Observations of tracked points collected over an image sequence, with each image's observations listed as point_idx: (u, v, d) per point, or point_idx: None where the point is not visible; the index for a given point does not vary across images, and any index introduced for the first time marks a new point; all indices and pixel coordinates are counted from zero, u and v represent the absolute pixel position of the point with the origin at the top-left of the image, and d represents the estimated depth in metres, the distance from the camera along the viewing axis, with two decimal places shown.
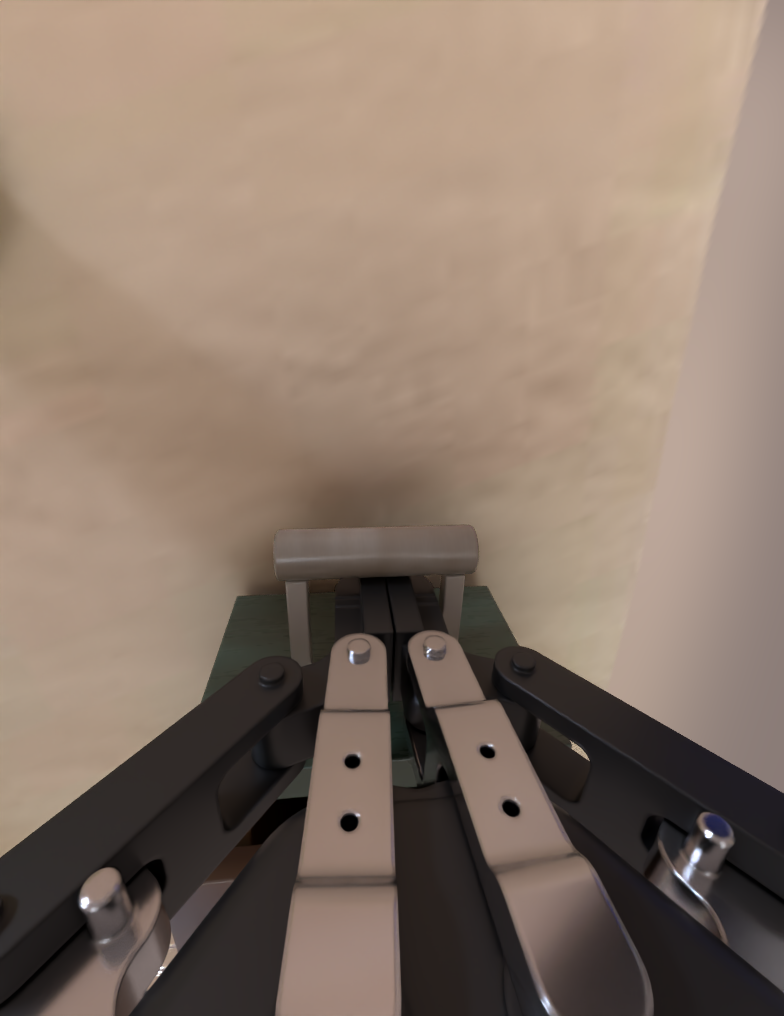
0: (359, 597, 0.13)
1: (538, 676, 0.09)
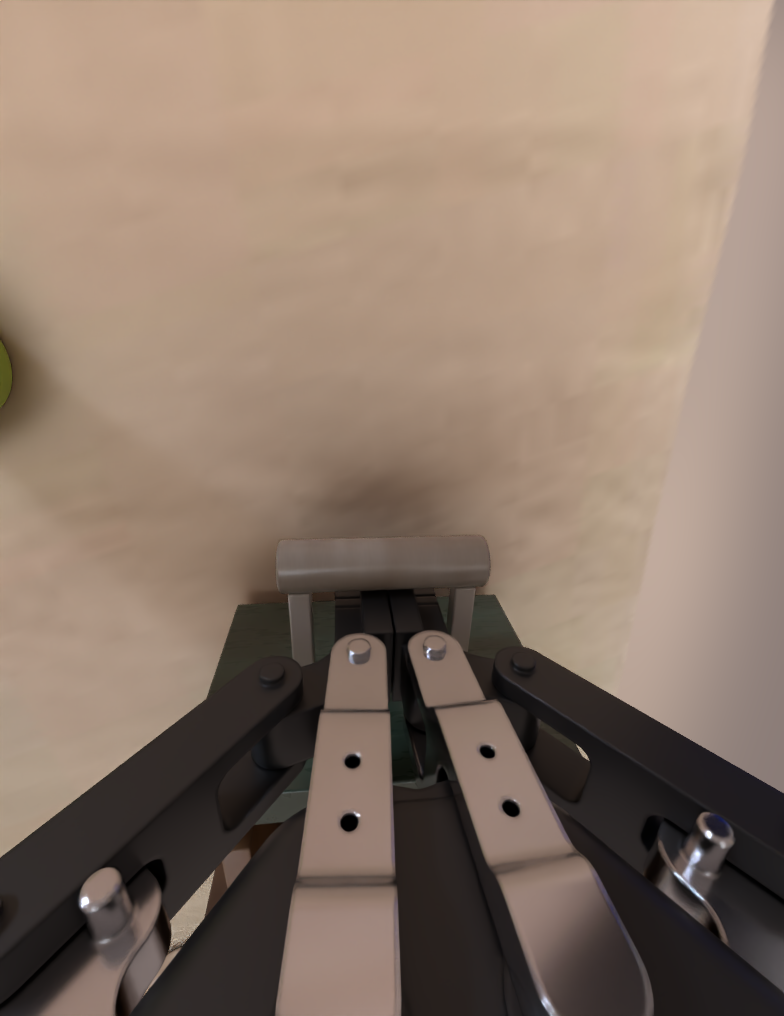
0: (359, 597, 0.13)
1: (538, 676, 0.09)
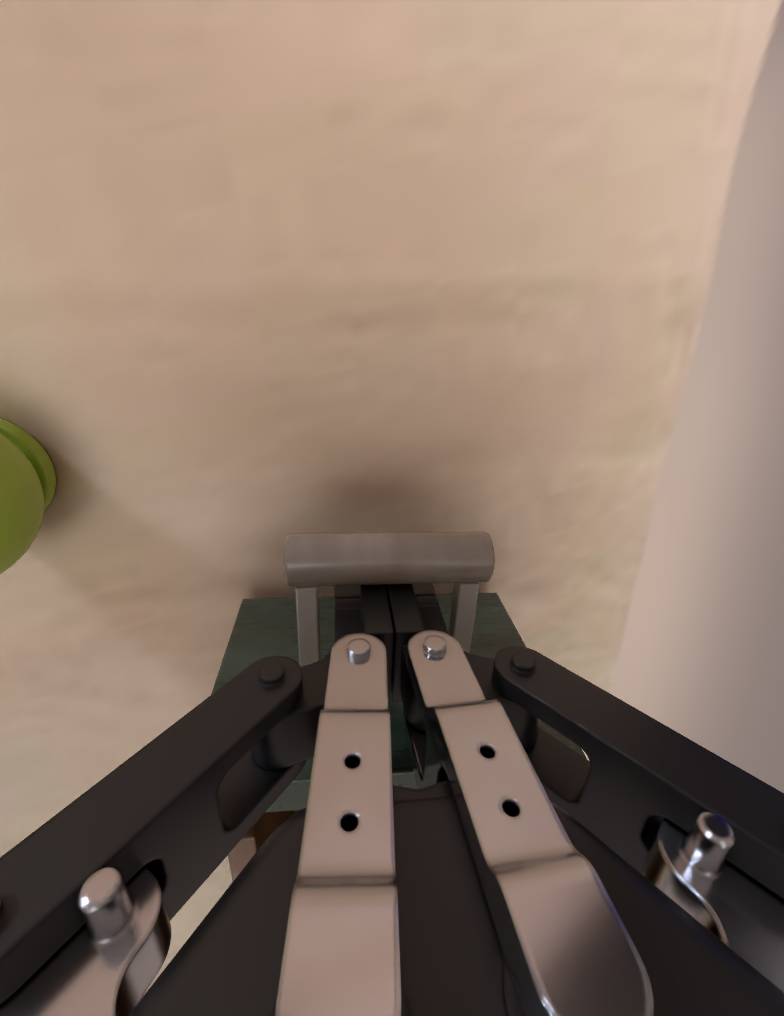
0: (359, 597, 0.13)
1: (538, 676, 0.09)
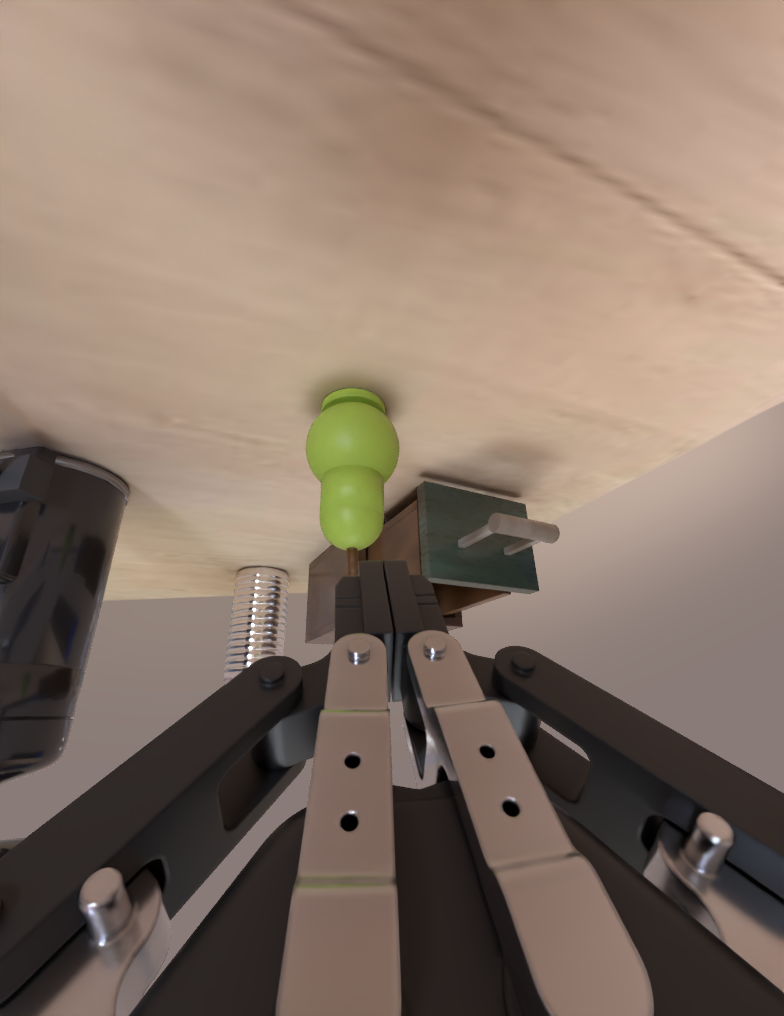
0: (359, 597, 0.13)
1: (538, 676, 0.09)
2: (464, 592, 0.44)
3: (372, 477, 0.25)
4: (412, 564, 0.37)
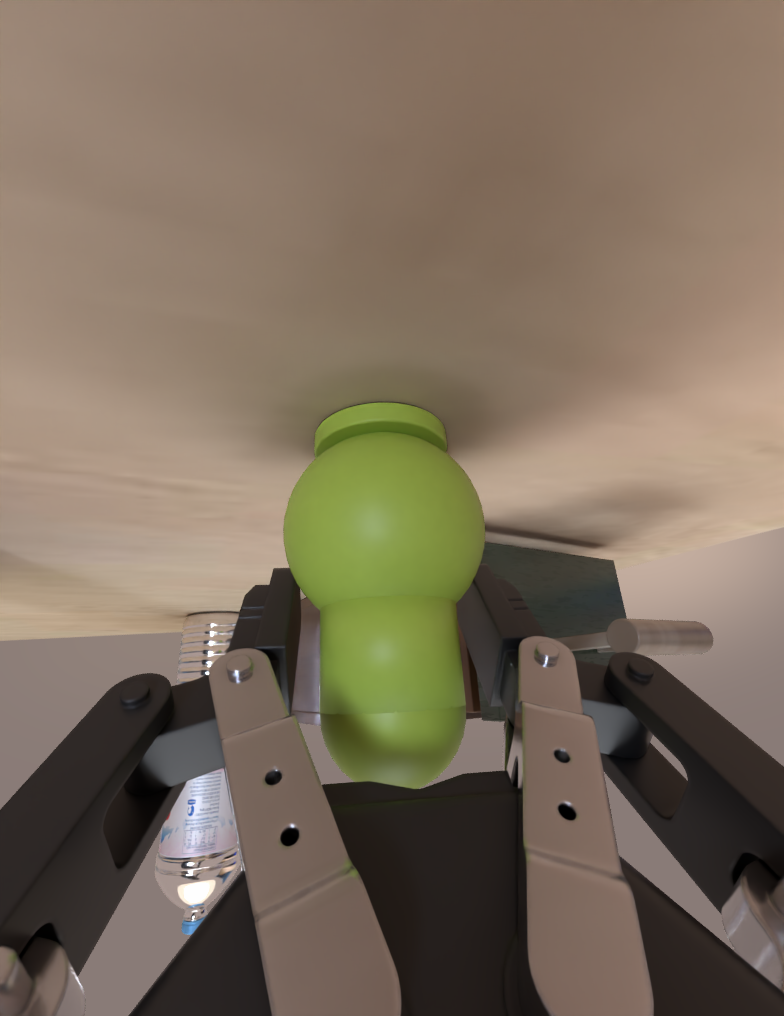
0: None
1: (659, 683, 0.09)
2: None
3: (442, 620, 0.11)
4: None
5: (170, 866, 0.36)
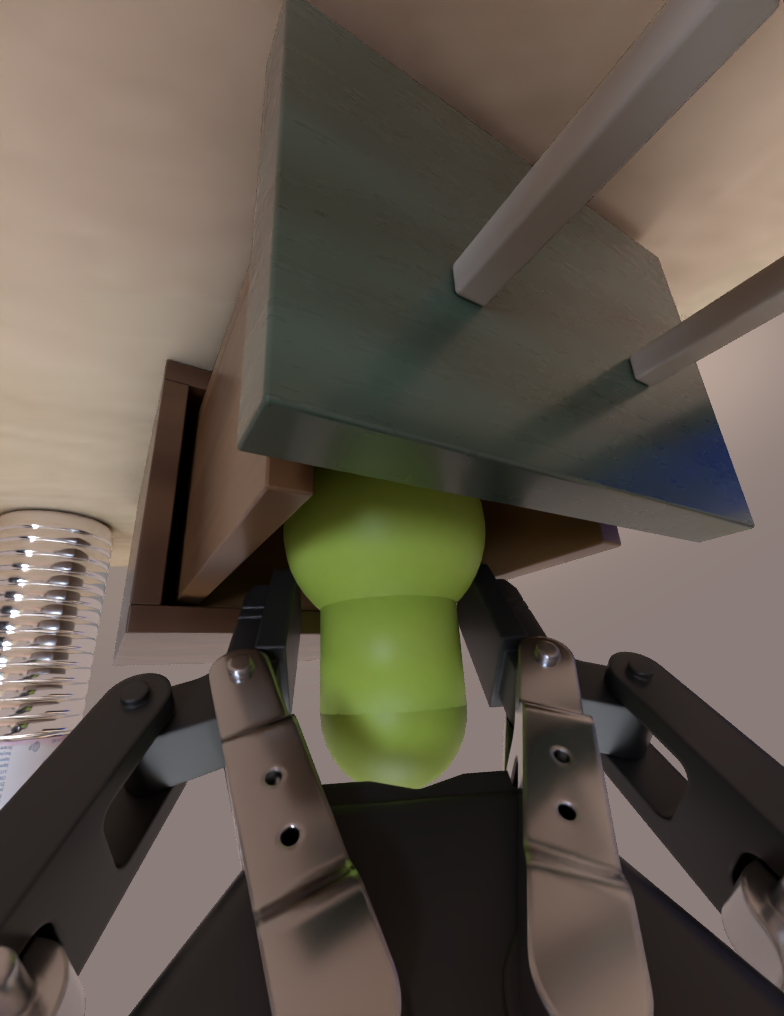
0: None
1: (658, 683, 0.09)
2: None
3: (442, 620, 0.11)
4: None
5: None
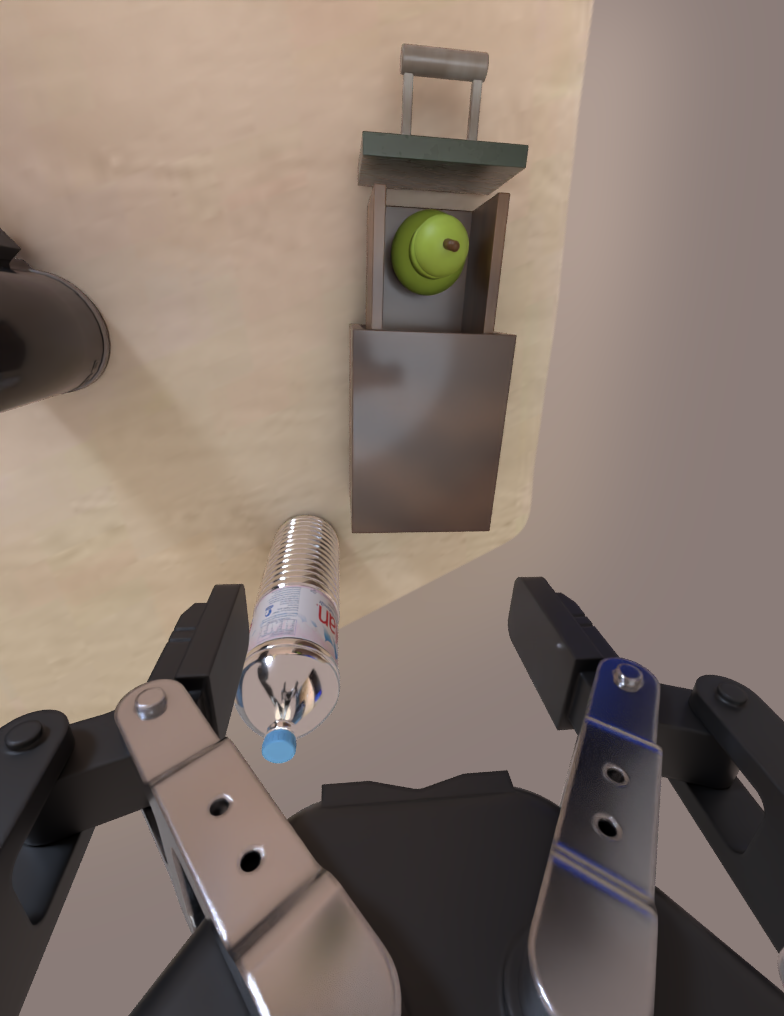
0: None
1: (754, 710, 0.09)
2: (482, 286, 0.33)
3: None
4: (371, 210, 0.31)
5: None
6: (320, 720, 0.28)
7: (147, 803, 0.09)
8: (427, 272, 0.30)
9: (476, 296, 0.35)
